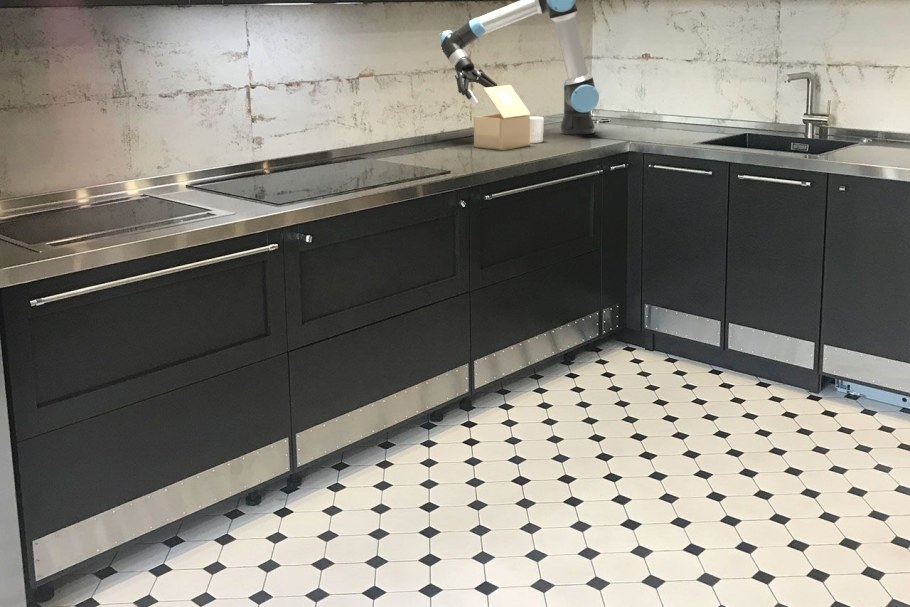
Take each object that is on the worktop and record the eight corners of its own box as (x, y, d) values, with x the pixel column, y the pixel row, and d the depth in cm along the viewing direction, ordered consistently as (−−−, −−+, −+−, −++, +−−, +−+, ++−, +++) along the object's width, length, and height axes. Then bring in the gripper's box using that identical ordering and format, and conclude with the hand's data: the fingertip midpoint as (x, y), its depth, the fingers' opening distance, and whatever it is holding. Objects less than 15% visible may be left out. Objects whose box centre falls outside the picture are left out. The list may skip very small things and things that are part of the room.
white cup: (544, 143, 423) (544, 118, 420) (525, 143, 423) (525, 119, 420) (543, 140, 430) (543, 116, 427) (524, 140, 430) (524, 116, 427)
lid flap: (482, 88, 407) (483, 87, 406) (509, 85, 417) (510, 84, 416) (503, 118, 402) (504, 117, 402) (529, 115, 412) (530, 113, 412)
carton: (473, 147, 417) (472, 116, 413) (502, 142, 428) (501, 112, 424) (501, 150, 405) (501, 118, 402) (530, 145, 416) (530, 114, 413)
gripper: (479, 67, 432) (504, 106, 426) (435, 71, 416) (461, 112, 410) (487, 55, 427) (514, 94, 420) (443, 59, 410) (470, 99, 404)
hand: (487, 102), depth 415 cm, fingers open, 13 cm apart
